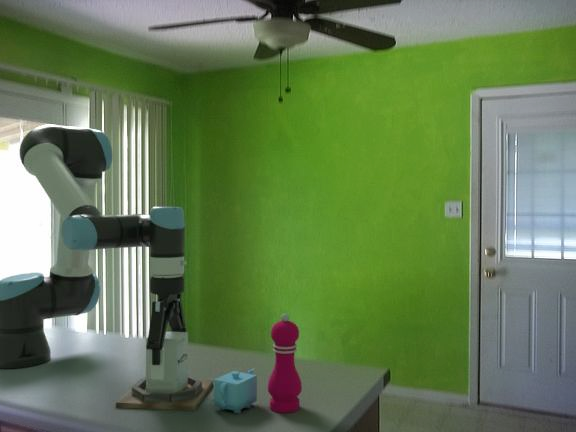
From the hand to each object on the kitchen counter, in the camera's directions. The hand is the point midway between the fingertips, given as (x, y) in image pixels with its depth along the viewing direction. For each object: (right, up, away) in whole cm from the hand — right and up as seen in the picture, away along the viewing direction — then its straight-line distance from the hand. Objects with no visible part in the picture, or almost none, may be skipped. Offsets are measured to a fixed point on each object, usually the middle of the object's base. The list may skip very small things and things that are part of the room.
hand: (167, 369), depth 125 cm
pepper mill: (+26, -6, -7) cm, 28 cm away
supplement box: (0, -5, 0) cm, 5 cm away
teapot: (+16, -6, -6) cm, 19 cm away
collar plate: (0, -6, 0) cm, 6 cm away
